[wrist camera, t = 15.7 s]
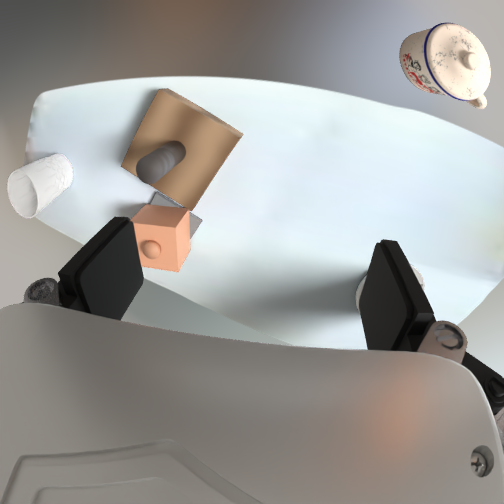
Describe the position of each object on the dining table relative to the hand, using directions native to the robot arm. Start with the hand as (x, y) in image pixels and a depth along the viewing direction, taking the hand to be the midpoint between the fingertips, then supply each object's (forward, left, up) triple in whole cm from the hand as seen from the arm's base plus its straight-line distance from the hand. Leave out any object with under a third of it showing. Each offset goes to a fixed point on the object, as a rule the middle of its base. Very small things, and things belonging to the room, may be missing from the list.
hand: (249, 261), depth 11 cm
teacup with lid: (-11, -21, -29) cm, 38 cm away
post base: (+9, +9, -29) cm, 32 cm away
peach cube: (+5, +21, -28) cm, 35 cm away
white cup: (+27, +24, -29) cm, 46 cm away
